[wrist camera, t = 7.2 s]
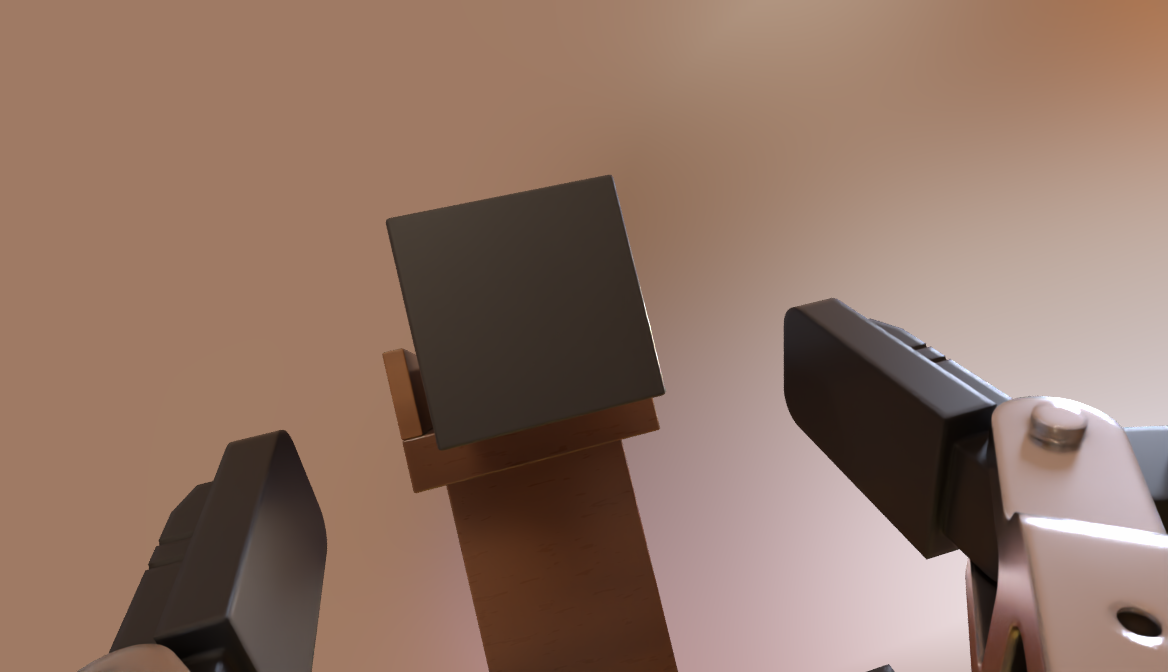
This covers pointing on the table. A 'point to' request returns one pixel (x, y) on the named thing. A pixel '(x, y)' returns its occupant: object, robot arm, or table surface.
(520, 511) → the stand
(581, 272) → the dark piece
